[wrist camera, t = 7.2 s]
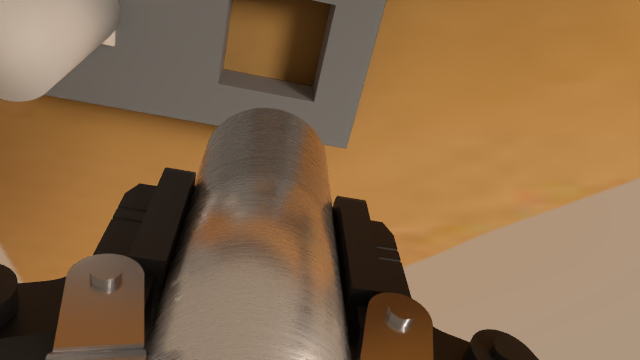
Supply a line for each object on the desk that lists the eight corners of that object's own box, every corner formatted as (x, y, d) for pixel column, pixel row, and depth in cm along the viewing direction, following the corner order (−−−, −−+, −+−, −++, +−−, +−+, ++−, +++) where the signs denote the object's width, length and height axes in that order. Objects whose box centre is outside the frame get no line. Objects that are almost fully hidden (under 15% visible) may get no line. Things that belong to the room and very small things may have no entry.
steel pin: (338, 120, 15) (402, 444, 7) (312, 223, 17) (335, 587, 8) (212, 96, 15) (99, 415, 6) (198, 205, 16) (94, 574, 8)
